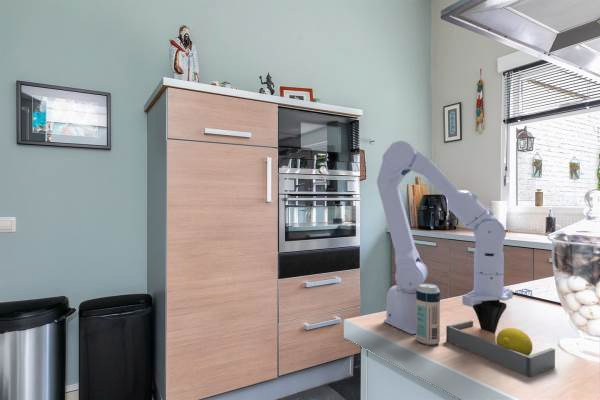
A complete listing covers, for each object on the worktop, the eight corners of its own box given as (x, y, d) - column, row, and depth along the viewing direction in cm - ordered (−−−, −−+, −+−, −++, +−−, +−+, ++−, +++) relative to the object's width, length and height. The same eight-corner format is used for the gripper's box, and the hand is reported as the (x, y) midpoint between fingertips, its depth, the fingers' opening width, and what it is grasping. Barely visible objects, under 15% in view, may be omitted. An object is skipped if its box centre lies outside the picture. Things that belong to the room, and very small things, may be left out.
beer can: (441, 340, 74) (441, 284, 74) (438, 348, 70) (438, 289, 70) (417, 335, 77) (418, 282, 77) (413, 343, 72) (414, 286, 72)
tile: (458, 341, 74) (458, 329, 74) (473, 337, 77) (473, 326, 77) (480, 350, 70) (480, 338, 70) (495, 345, 72) (495, 333, 72)
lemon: (518, 324, 69) (501, 318, 65) (545, 346, 65) (529, 341, 61) (501, 345, 70) (483, 340, 66) (526, 367, 66) (509, 364, 62)
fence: (446, 340, 74) (446, 325, 74) (470, 334, 78) (470, 320, 78) (529, 376, 59) (529, 358, 59) (554, 366, 62) (555, 349, 62)
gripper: (484, 279, 68) (484, 347, 68) (526, 273, 75) (526, 335, 75) (454, 272, 74) (453, 335, 74) (495, 267, 81) (495, 324, 81)
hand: (488, 334), depth 75 cm, fingers closed
